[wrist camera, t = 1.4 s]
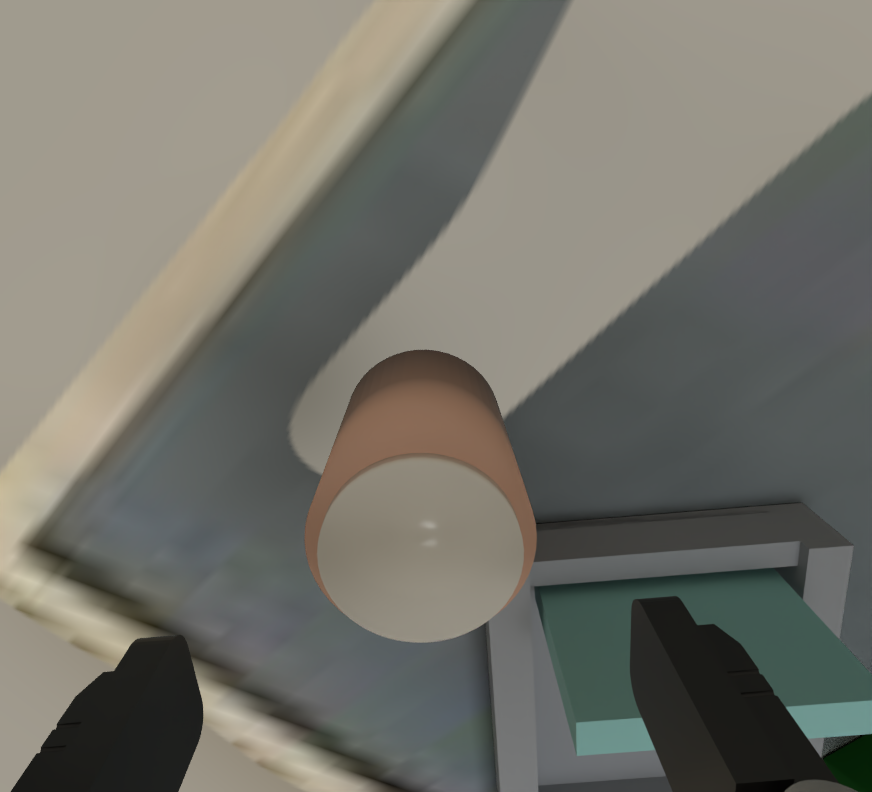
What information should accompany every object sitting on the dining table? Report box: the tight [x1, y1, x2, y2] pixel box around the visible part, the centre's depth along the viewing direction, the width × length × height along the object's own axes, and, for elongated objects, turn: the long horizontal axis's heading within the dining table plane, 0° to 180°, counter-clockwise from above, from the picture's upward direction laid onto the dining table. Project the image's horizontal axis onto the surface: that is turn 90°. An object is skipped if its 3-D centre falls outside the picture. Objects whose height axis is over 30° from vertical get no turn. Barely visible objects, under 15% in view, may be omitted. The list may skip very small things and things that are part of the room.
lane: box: [485, 503, 854, 792], centre depth 23 cm, size 12×15×6 cm
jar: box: [305, 350, 537, 643], centre depth 18 cm, size 6×6×9 cm
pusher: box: [535, 568, 872, 756], centre depth 20 cm, size 9×3×7 cm, turn 95°
